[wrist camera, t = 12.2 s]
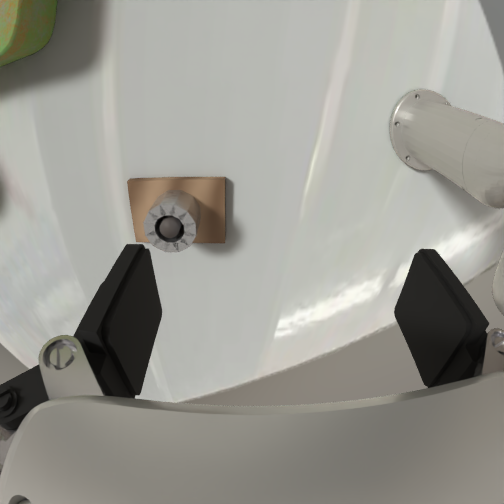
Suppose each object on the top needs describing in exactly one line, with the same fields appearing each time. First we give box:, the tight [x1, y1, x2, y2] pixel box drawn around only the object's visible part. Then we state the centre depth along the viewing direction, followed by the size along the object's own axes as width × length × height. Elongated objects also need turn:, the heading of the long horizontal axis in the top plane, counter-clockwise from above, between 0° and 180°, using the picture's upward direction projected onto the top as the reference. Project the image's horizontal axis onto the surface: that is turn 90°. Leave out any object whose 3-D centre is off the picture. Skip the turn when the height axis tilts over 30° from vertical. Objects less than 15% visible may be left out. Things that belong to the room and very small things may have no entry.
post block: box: [127, 177, 225, 243], centre depth 41 cm, size 14×10×6 cm
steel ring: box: [143, 190, 201, 252], centre depth 40 cm, size 7×7×5 cm
